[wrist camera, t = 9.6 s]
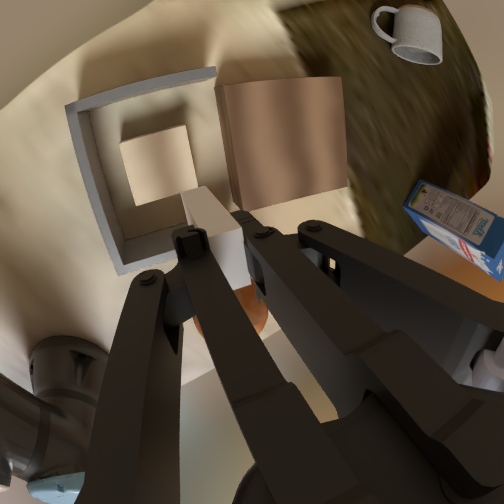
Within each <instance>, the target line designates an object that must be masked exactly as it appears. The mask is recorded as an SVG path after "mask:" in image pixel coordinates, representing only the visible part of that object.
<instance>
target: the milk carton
mask: <svg viewBox="0 0 504 504" xmlns="http://www.w3.org/2000/svg"><path fill="white" fill-rule="evenodd" d="M403 207H404V209H405V210H406V211H407V212H408V214H409V215H410V216H411V217H412V219H413V220H414V221H415V223H416V224H417V225H418V226H419V228H420V229H421V230H422V232H424V233H426V234H427V235H429V236H431V237H432V238H434V239H435V240H437V241H439V242H441V243H442V244H444V245H445V246H447V247H448V248H450V249H452V250H453V251H455V252H456V253H458V254H459V255H461V256H463V257H464V258H465V259H467V260H468V261H470V262H471V263H473V264H474V265H476V266H477V267H479V268H480V269H482V270H483V271H485V272H486V273H488V274H489V275H490V276H492V277H493V278H495V279H496V280H498V281H499V282H501V280H502V278H503V277H504V218H502V217H500V216H498V215H496V214H494V213H493V212H490V211H489V210H487V209H485V208H483V207H481V206H479V205H477V204H475V203H473V202H471V201H469V200H467V199H464V198H462V197H460V196H458V195H456V194H454V193H452V192H449V191H447V190H445V189H443V188H440V187H438V186H436V185H434V184H431V183H429V182H426V181H424V180H422V179H420V180H419V181H418V183H417V185H416V186H415V188H414V189H413V191H412V193H411V194H410V196H409V197H408V199H407V200H406V202H405V203H404V205H403Z"/></svg>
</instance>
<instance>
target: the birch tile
mask: <svg viewBox="0 0 504 504" xmlns="http://www.w3.org/2000/svg"><path fill="white" fill-rule="evenodd" d="M119 146H120V150H121V154H122V158H123V162H124V166H125V170H126V173H127V177H128V180H129V184H130V187H131V191H132V194H133V198H134V201H135V204H136V206H139V205H142V204H145V203H149V202H152V201H155V200H159V199H162V198H165V197H169V196H172V195H176V194H179V193H180V192H183V191H187V190H190V189H194V188H198V183H197V179H196V174H195V169H194V165H193V160H192V155H191V150H190V145H189V140H188V135H187V130H186V125H184V124H180V125H176V126H172V127H168V128H164V129H160V130H157V131H153V132H150V133H146V134H142V135H139V136H136V137H132V138H129V139H126V140H123V141H120V143H119Z"/></svg>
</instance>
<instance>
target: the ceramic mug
mask: <svg viewBox="0 0 504 504" xmlns="http://www.w3.org/2000/svg"><path fill="white" fill-rule="evenodd" d="M380 11H388V12H392V13H394V14H395V19H394V30H393V37H390V36H389V35H387V34H386V33H384V32H383V31H382V30H381V29H380V27H379V26H378V25H377V23H376V18H377V16H379V12H380ZM371 25H372V28H373V29H374V31H375V32H376V33H377V34H378V35H379V36H380V37H382V38H383V39H385V40H387V41H388V42H390V43H392V47H391V49H392V51H393V53H394V54H396V55H397V56H399V57H401V58H403V59H406V60H408V61H411V62H415V63H419V64H427V65H435V64H439V63H441V62H442V34H441V24H440V20H439V18H438V16H437V15H436V14H435V13H434V12H432V11H431V10H429V9H427V8H425V7H422V6H418V5H403V6H401V7H399V8H398V9H396V8H393V7H389V6H382V7H379V8H378V9H376V10H375V11H374V12H373V14H372V16H371Z"/></svg>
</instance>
